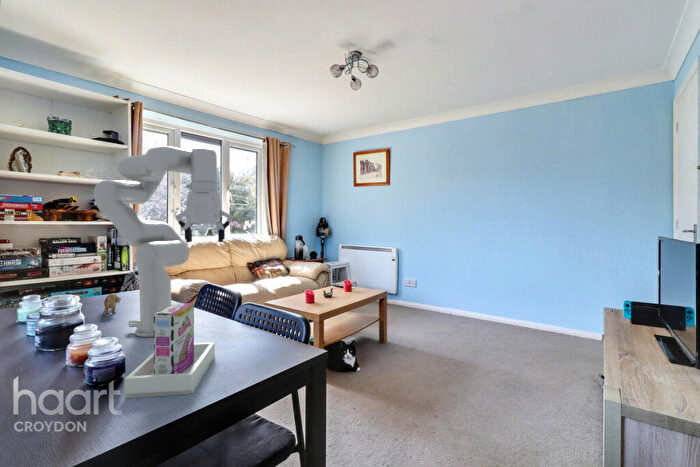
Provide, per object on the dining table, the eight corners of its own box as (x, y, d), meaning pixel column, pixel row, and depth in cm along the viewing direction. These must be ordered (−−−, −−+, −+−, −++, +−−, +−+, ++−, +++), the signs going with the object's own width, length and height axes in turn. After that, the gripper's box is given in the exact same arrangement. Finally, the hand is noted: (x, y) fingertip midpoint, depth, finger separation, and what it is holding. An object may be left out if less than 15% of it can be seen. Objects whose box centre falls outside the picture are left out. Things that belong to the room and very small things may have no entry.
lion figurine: (122, 315, 138) (121, 293, 137) (106, 317, 134) (106, 295, 133) (113, 308, 147) (112, 288, 147) (98, 310, 144) (97, 290, 143)
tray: (125, 398, 74) (124, 378, 74) (162, 360, 94) (162, 344, 94) (192, 394, 76) (191, 374, 76) (214, 357, 96) (214, 342, 96)
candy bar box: (174, 382, 80) (172, 314, 79) (153, 382, 80) (151, 313, 79) (195, 362, 91) (194, 302, 90) (177, 362, 91) (176, 302, 90)
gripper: (170, 186, 102) (171, 243, 102) (230, 187, 104) (230, 242, 105) (179, 188, 109) (180, 241, 110) (234, 189, 112) (235, 241, 112)
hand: (205, 241), depth 107 cm, fingers open, 9 cm apart
